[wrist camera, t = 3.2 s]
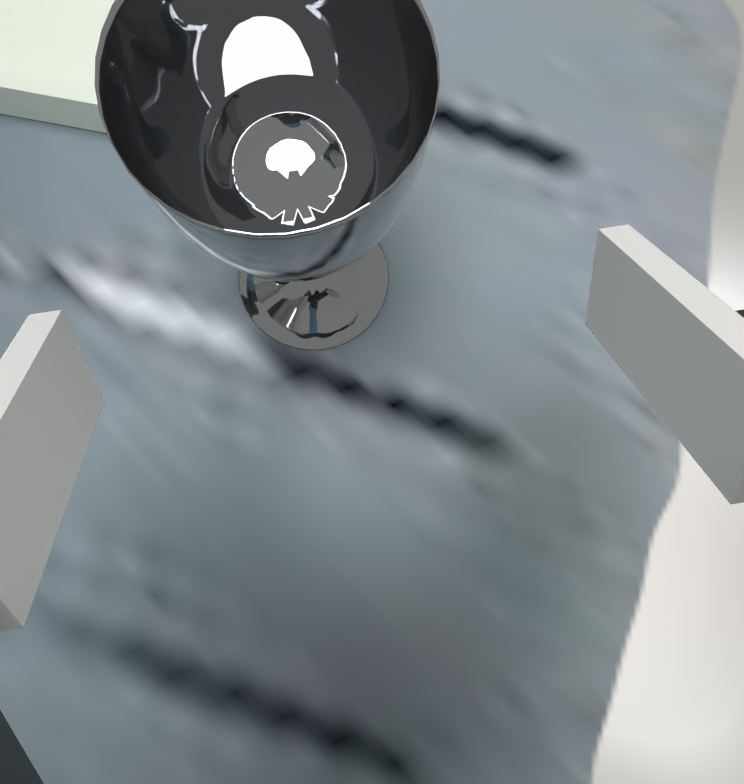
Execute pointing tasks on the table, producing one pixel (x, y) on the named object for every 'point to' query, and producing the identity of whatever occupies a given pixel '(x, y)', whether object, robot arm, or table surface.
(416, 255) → the table surface
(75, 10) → the white tray
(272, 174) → the wine glass
